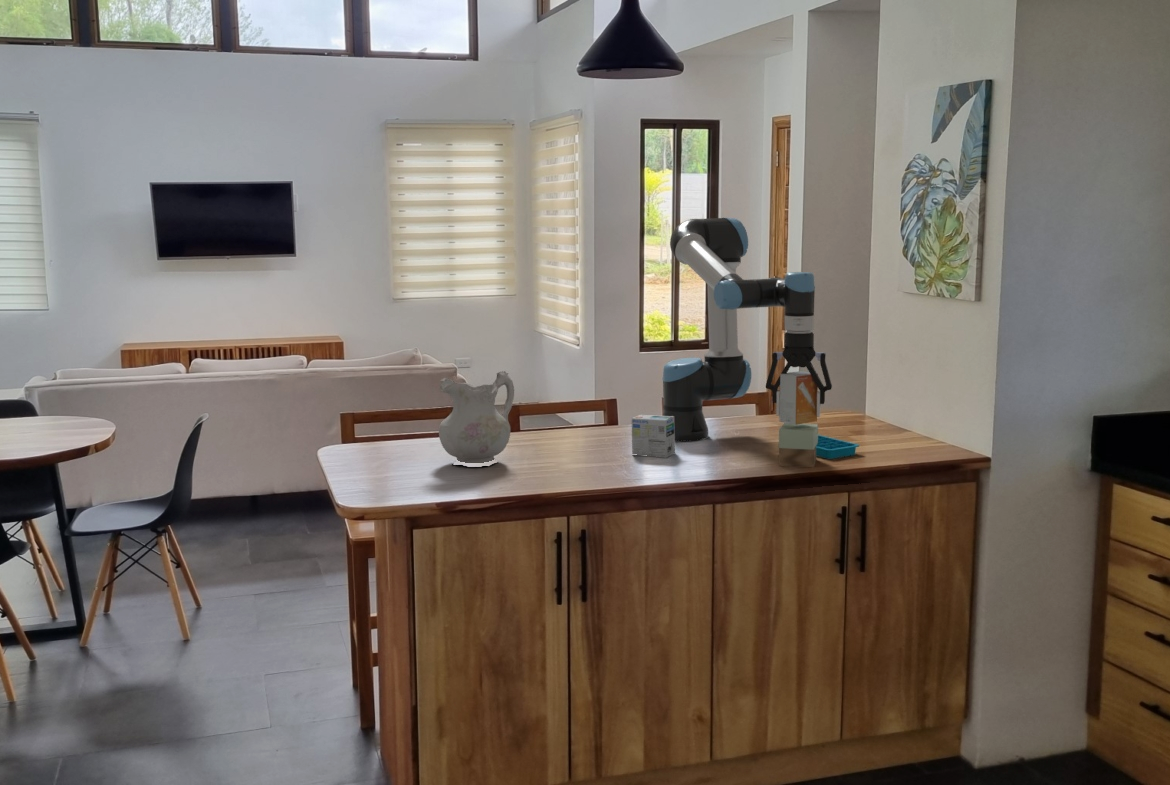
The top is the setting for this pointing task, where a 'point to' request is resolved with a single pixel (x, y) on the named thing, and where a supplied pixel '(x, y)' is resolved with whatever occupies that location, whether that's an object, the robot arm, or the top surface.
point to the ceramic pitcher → (476, 420)
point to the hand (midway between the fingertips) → (798, 415)
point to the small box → (798, 398)
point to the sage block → (798, 436)
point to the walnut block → (797, 457)
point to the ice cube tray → (834, 447)
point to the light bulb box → (653, 435)
